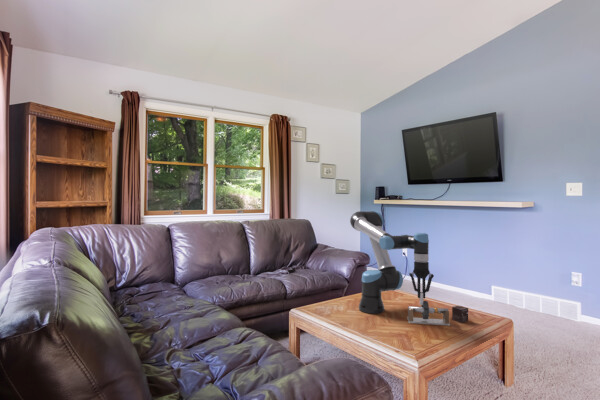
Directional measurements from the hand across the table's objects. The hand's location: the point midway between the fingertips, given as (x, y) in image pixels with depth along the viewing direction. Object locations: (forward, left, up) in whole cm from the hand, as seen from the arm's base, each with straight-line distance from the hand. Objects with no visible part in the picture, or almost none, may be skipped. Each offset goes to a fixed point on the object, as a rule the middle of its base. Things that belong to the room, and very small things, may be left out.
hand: (421, 304), depth 182 cm
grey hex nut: (+2, 0, -8) cm, 8 cm away
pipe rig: (+4, 0, -10) cm, 10 cm away
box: (+22, +6, -10) cm, 25 cm away
